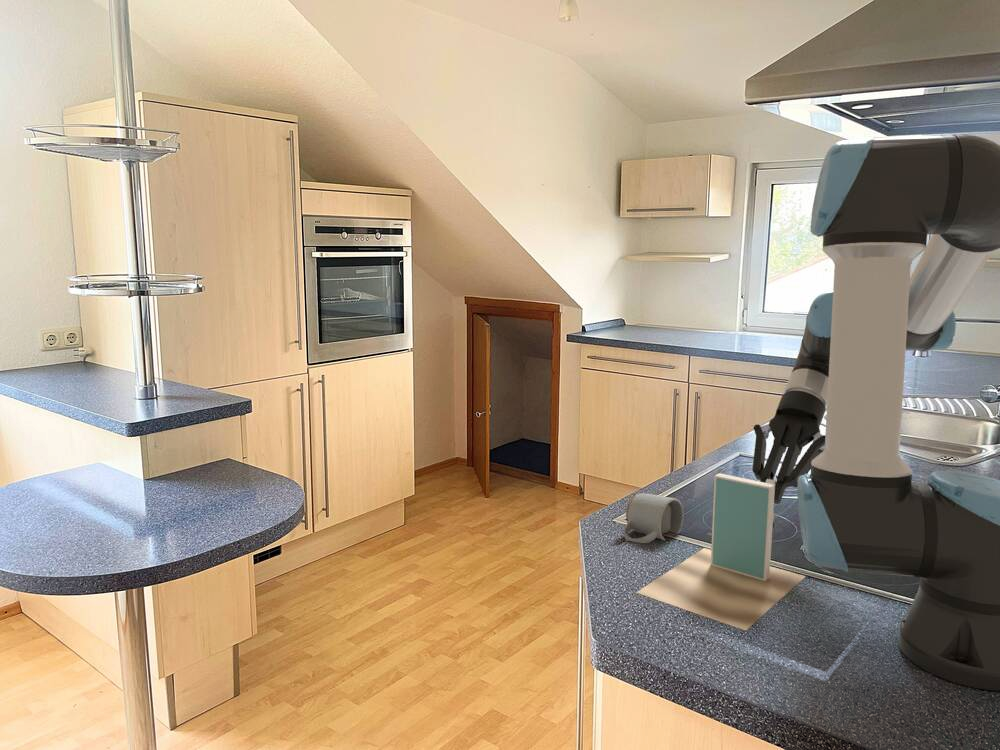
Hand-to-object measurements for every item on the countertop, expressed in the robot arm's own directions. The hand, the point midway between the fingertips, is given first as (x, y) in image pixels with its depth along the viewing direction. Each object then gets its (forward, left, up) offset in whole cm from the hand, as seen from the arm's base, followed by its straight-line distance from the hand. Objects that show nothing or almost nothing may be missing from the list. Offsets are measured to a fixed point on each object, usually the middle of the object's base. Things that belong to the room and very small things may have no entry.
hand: (760, 517), depth 124 cm
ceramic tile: (-5, +6, -7) cm, 10 cm away
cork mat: (-9, +10, -8) cm, 15 cm away
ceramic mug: (+13, +14, -8) cm, 21 cm away
